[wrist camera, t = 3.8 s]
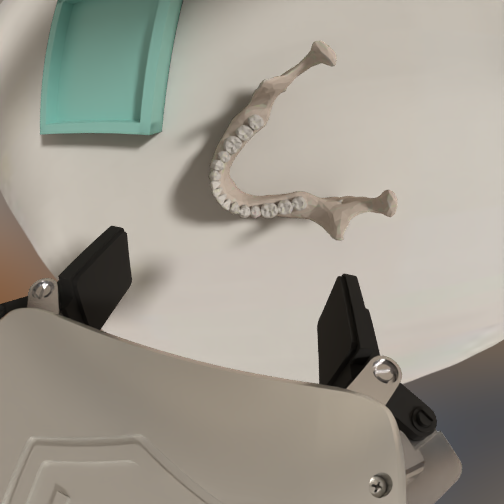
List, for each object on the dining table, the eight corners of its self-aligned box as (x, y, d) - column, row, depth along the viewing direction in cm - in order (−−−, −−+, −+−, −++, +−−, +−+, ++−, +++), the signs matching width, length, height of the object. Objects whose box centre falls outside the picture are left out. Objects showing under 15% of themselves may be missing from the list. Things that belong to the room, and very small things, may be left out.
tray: (72, 0, 14) (58, -4, 12) (189, -26, 14) (180, -36, 12) (54, 130, 22) (40, 134, 20) (161, 131, 22) (149, 135, 20)
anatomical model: (171, 132, 21) (162, 108, 12) (277, 76, 21) (330, 35, 12) (247, 252, 26) (284, 302, 17) (339, 193, 26) (409, 211, 17)
